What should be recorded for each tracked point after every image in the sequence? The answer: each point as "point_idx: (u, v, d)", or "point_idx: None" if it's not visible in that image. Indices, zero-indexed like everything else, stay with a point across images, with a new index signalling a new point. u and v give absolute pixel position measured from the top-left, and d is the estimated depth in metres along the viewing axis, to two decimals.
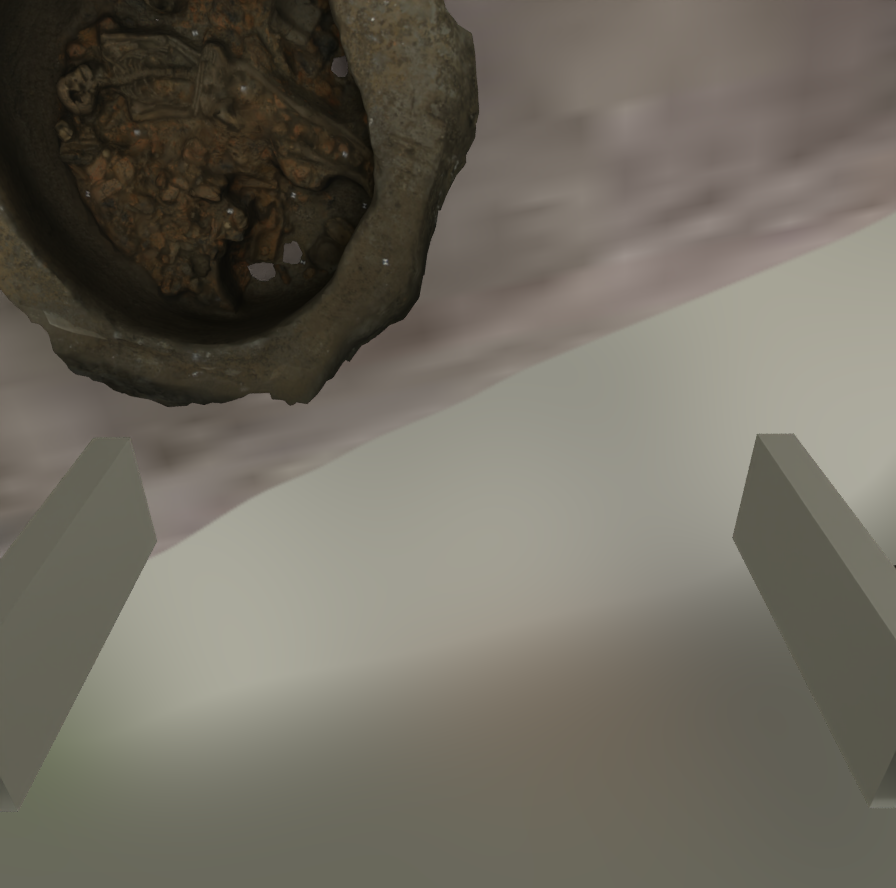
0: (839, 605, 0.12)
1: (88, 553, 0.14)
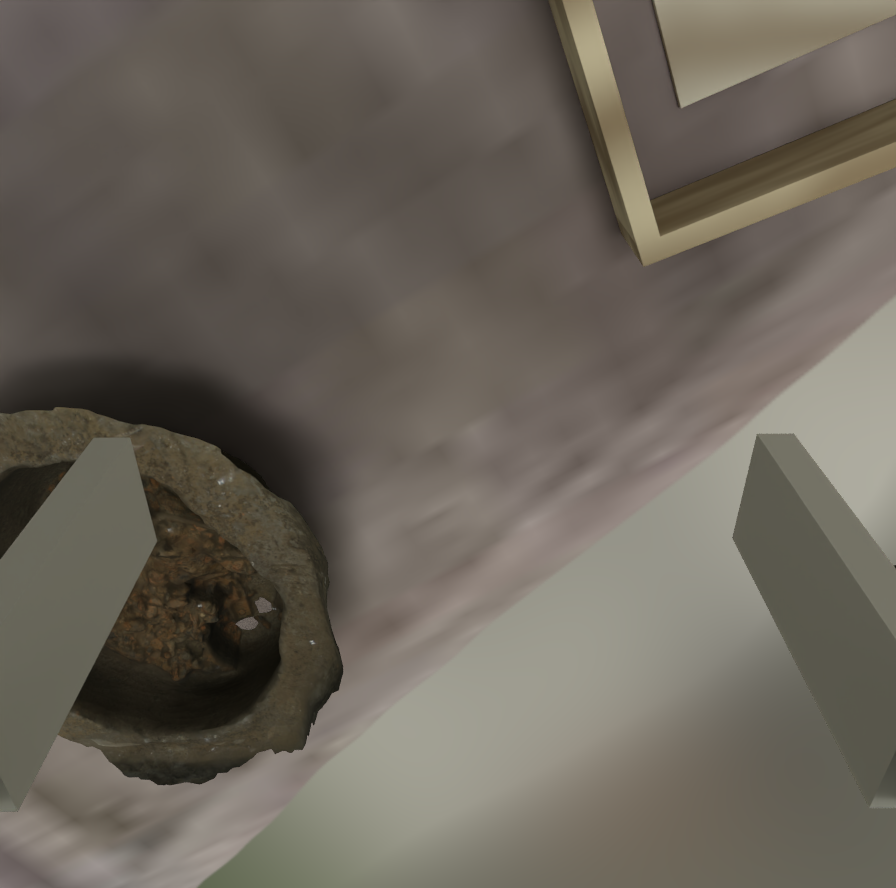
0: (839, 605, 0.12)
1: (88, 553, 0.14)
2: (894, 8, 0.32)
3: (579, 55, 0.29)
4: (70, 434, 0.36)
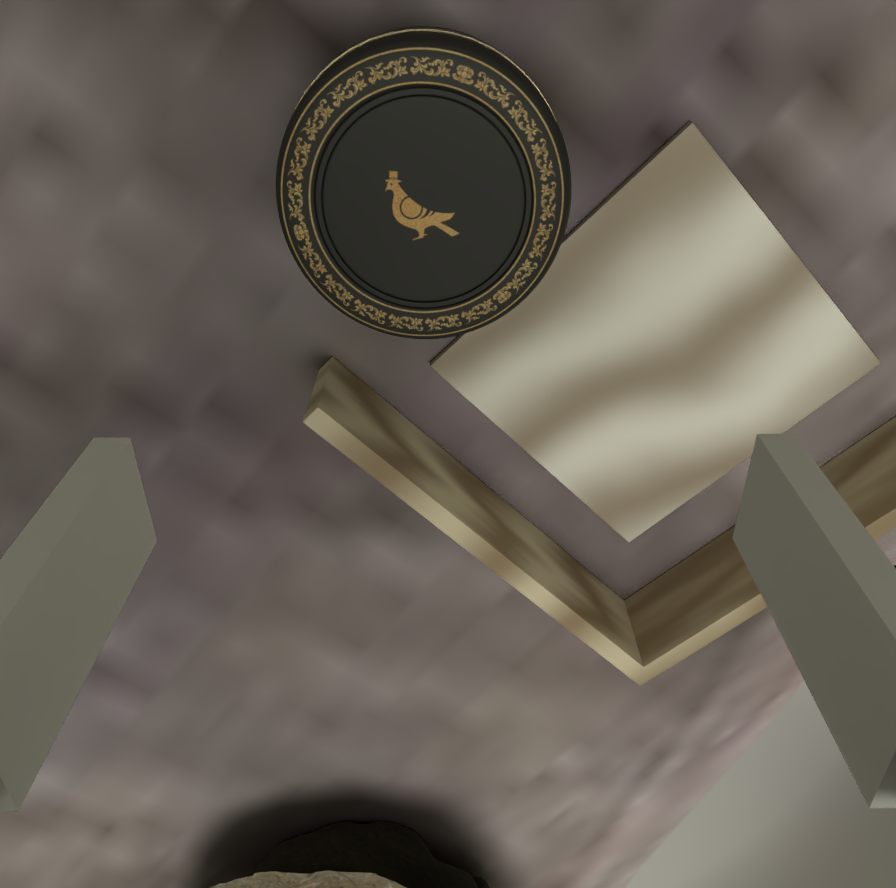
0: (839, 605, 0.12)
1: (88, 553, 0.14)
2: None
3: (528, 597, 0.37)
4: (270, 885, 0.49)
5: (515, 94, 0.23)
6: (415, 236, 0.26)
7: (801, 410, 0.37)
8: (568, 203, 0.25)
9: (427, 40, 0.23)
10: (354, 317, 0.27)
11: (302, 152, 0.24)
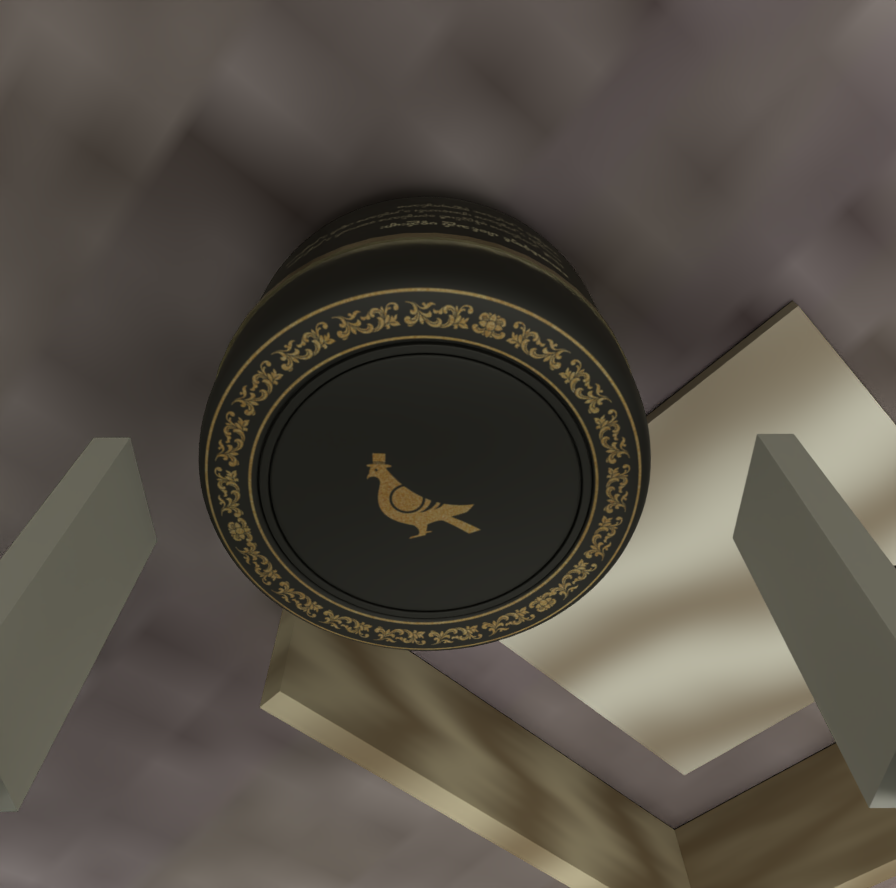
0: (839, 605, 0.12)
1: (88, 553, 0.14)
2: None
3: None
4: None
5: (572, 351, 0.15)
6: (413, 533, 0.17)
7: None
8: (646, 488, 0.17)
9: (431, 276, 0.14)
10: (324, 629, 0.18)
11: (235, 431, 0.15)
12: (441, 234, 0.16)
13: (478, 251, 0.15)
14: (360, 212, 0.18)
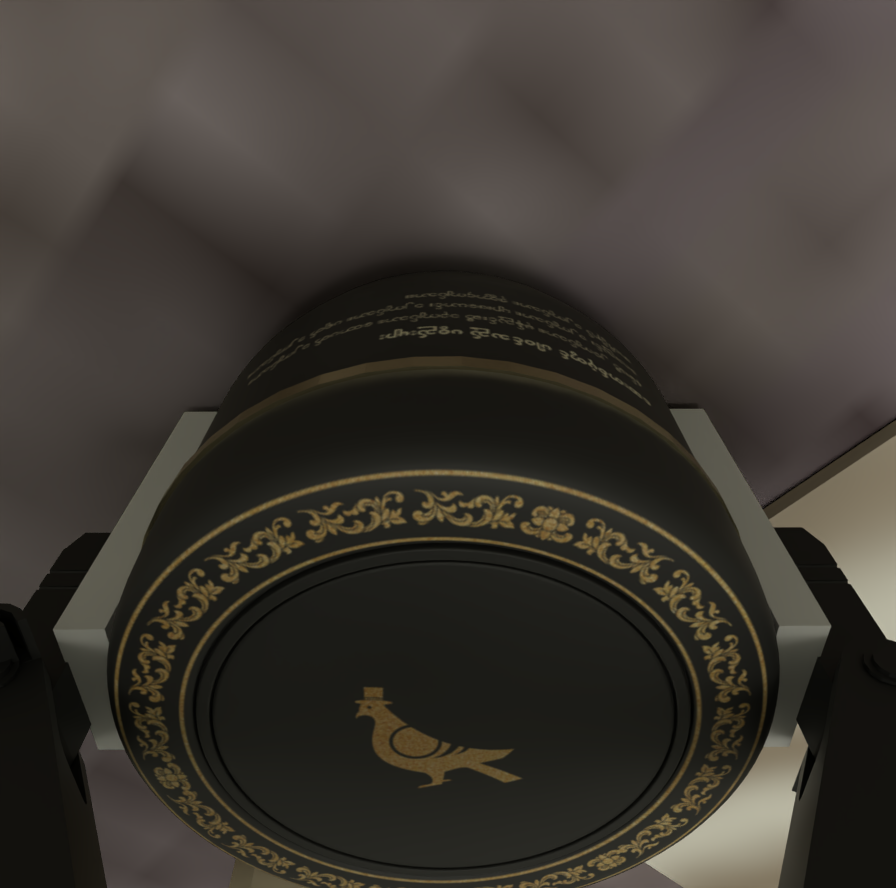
0: None
1: None
2: None
3: None
4: None
5: (676, 559, 0.09)
6: (424, 782, 0.12)
7: None
8: (769, 727, 0.11)
9: (457, 451, 0.09)
10: (298, 884, 0.13)
11: (155, 659, 0.10)
12: (470, 360, 0.10)
13: (528, 392, 0.10)
14: (353, 301, 0.13)
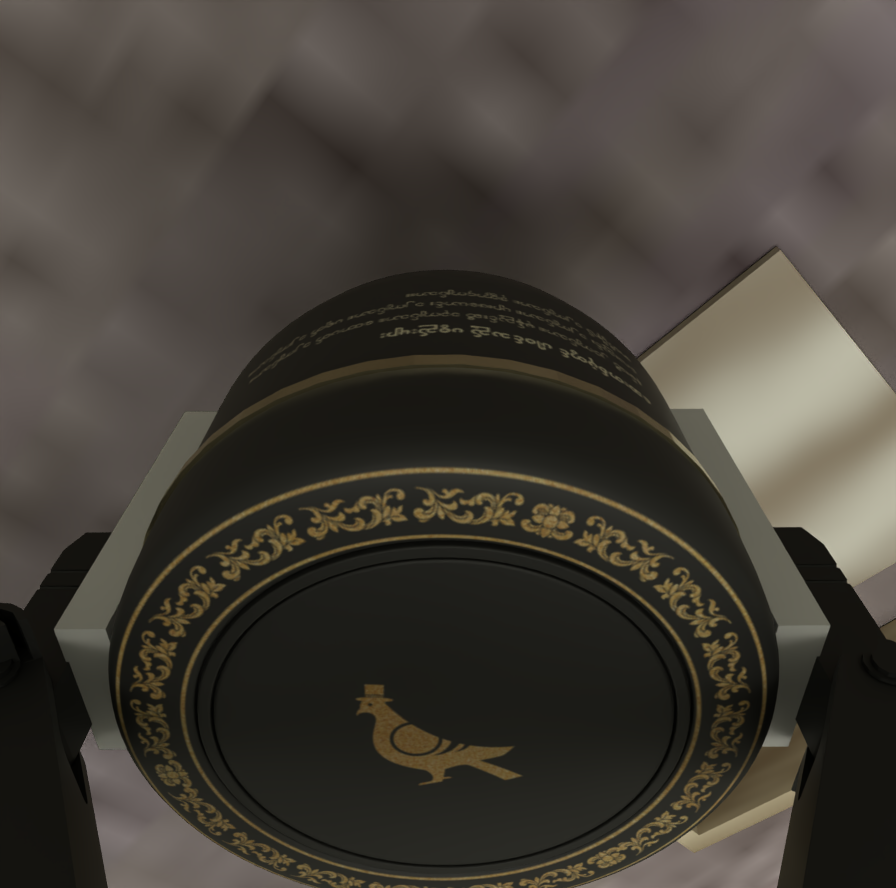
0: None
1: None
2: (852, 582, 0.33)
3: None
4: None
5: (676, 556, 0.09)
6: (425, 779, 0.12)
7: (890, 556, 0.32)
8: (769, 724, 0.11)
9: (458, 448, 0.09)
10: (298, 882, 0.13)
11: (157, 655, 0.10)
12: (471, 358, 0.10)
13: (528, 390, 0.10)
14: (354, 299, 0.13)
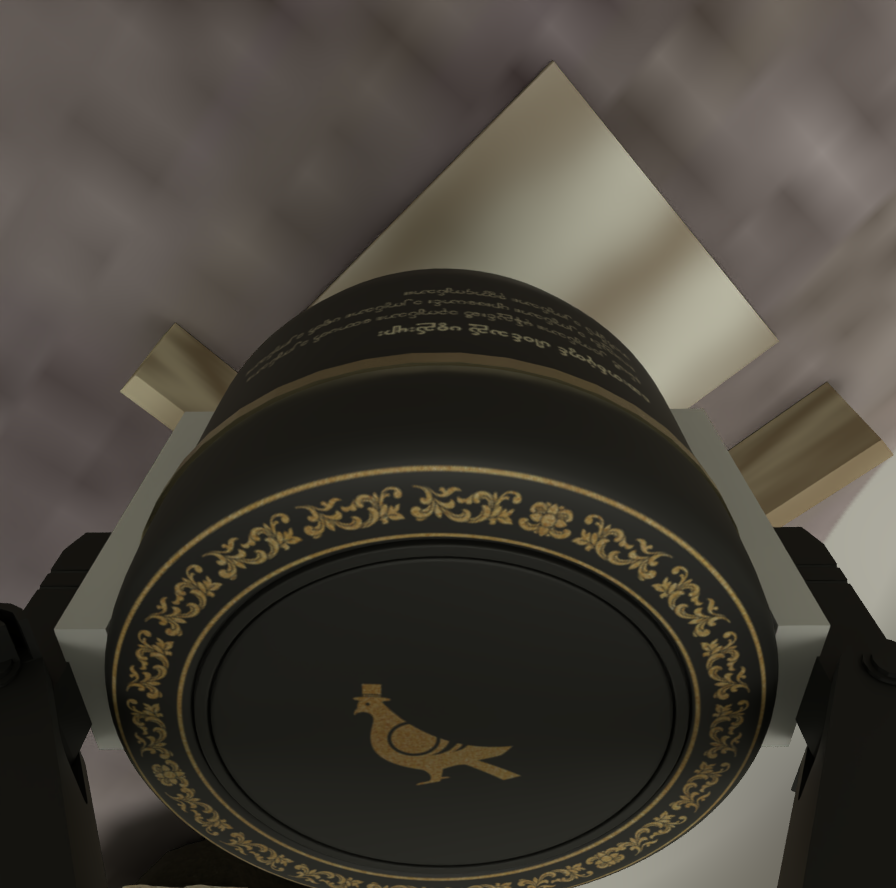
0: None
1: None
2: None
3: None
4: None
5: (674, 555, 0.09)
6: (422, 779, 0.12)
7: (695, 392, 0.34)
8: (768, 724, 0.11)
9: (455, 447, 0.09)
10: (296, 882, 0.13)
11: (154, 655, 0.10)
12: (469, 356, 0.10)
13: (526, 388, 0.10)
14: (352, 298, 0.13)
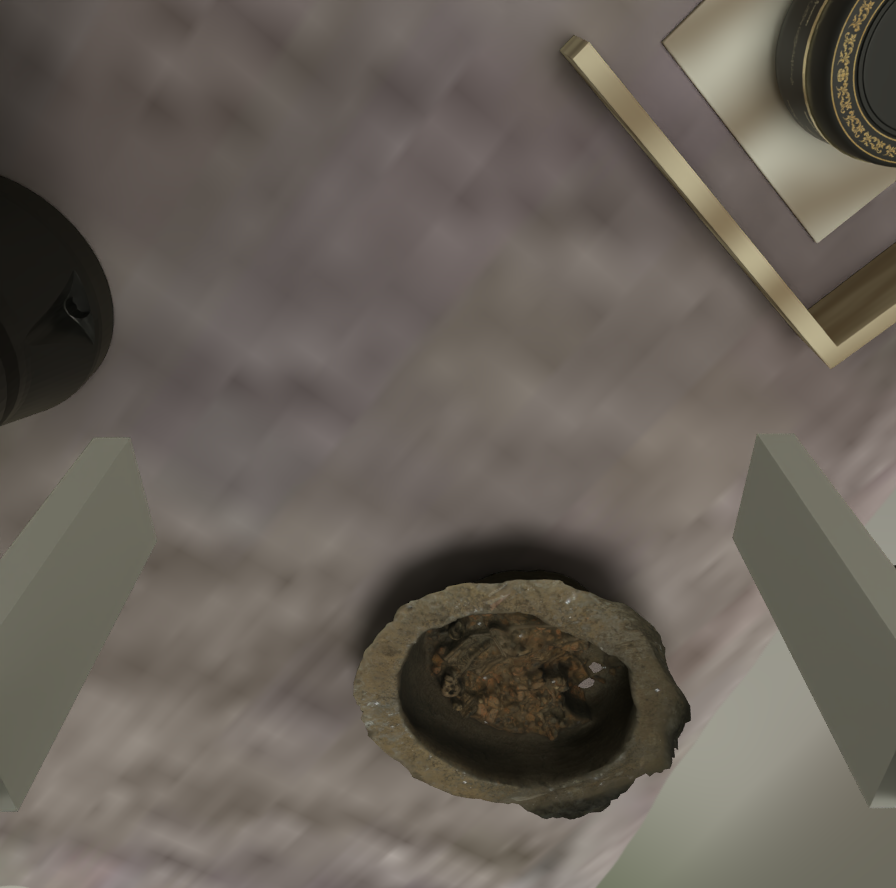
0: (839, 605, 0.12)
1: (88, 553, 0.14)
2: None
3: (743, 264, 0.41)
4: (459, 600, 0.53)
5: None
6: None
7: None
8: None
9: None
10: (858, 147, 0.35)
11: (865, 9, 0.32)
12: None
13: None
14: None
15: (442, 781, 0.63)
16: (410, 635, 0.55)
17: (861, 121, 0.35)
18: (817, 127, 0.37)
